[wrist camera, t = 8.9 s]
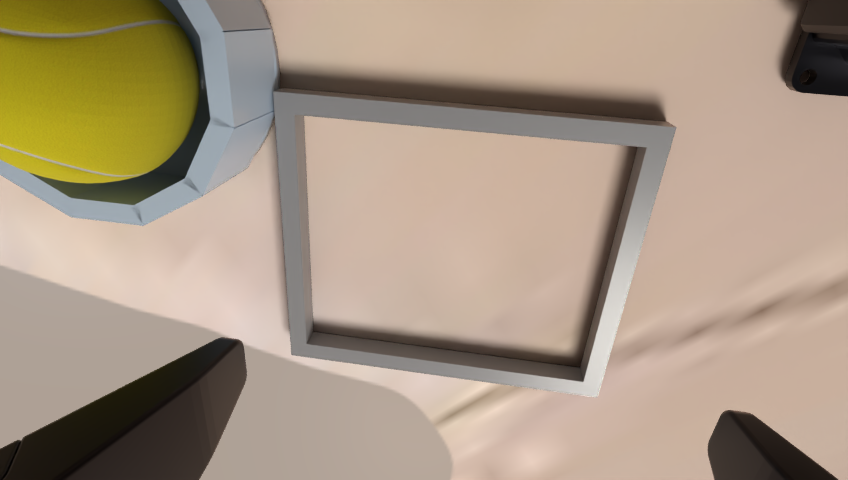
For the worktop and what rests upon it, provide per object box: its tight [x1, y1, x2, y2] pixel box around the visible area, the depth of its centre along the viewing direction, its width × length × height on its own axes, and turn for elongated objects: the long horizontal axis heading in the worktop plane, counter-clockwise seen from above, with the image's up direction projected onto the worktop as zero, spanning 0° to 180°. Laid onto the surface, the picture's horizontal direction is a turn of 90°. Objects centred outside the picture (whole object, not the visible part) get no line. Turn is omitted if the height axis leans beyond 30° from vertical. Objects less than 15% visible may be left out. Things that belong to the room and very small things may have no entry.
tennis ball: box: [0, 0, 200, 183], centre depth 16 cm, size 7×7×7 cm
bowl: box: [0, 0, 280, 226], centre depth 17 cm, size 11×11×4 cm
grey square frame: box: [273, 88, 676, 398], centre depth 21 cm, size 15×13×1 cm
